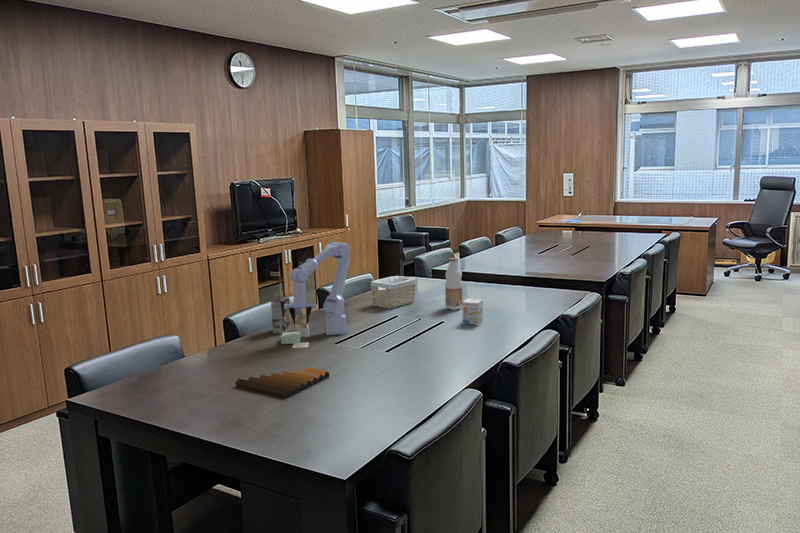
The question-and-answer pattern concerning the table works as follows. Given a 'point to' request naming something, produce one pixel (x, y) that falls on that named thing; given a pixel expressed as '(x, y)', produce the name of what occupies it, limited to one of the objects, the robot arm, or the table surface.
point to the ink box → (472, 311)
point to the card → (300, 345)
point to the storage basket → (393, 291)
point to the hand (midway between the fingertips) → (301, 323)
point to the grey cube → (303, 331)
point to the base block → (290, 337)
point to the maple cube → (300, 321)
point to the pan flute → (284, 382)
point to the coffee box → (280, 316)
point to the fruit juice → (453, 285)
